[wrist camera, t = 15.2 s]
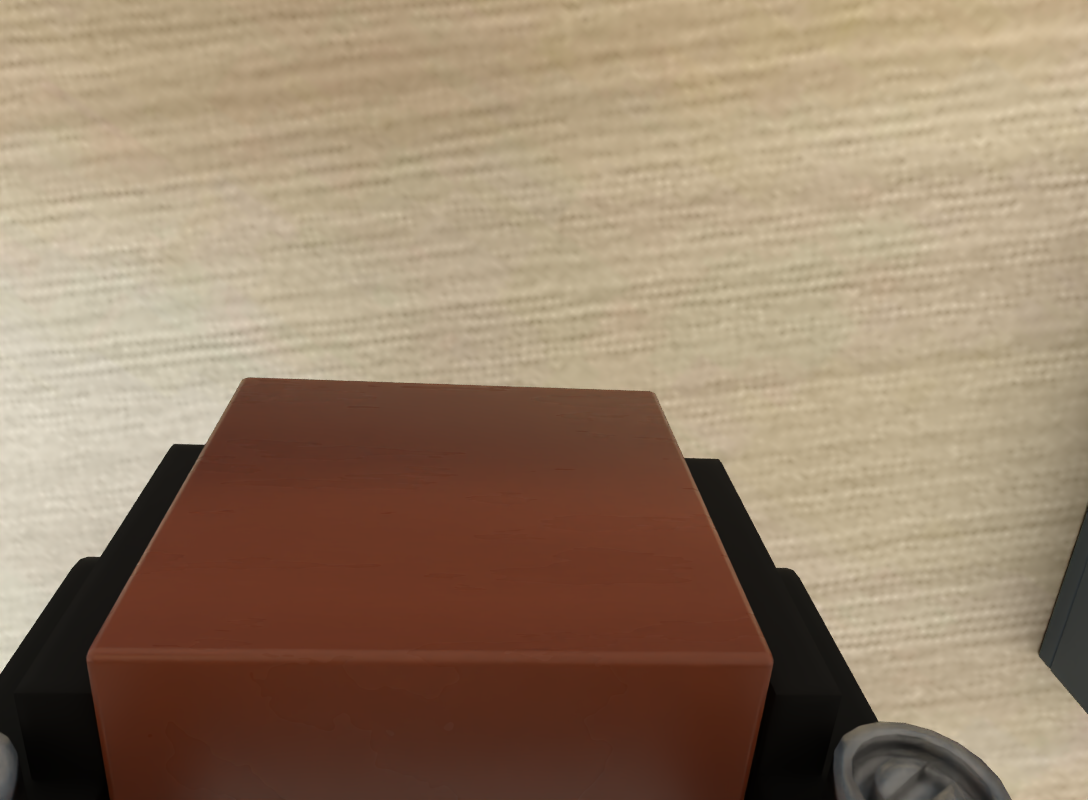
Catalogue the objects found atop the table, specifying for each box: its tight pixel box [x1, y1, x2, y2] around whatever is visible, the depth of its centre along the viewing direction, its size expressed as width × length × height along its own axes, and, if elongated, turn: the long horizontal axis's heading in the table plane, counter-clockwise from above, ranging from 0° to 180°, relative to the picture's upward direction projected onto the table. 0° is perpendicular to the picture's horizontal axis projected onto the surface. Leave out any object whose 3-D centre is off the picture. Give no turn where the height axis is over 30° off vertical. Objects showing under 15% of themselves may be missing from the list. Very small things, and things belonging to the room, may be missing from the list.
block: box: [86, 378, 774, 800], centre depth 9 cm, size 4×4×4 cm
